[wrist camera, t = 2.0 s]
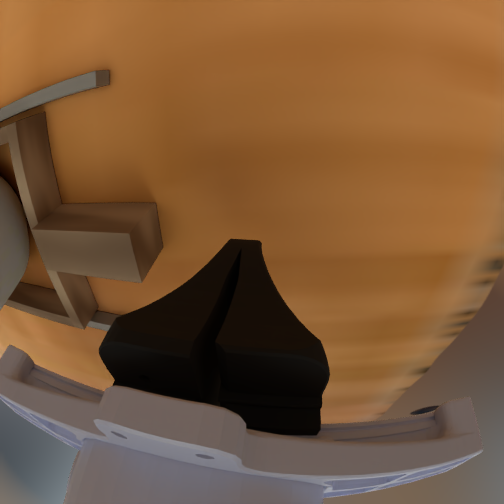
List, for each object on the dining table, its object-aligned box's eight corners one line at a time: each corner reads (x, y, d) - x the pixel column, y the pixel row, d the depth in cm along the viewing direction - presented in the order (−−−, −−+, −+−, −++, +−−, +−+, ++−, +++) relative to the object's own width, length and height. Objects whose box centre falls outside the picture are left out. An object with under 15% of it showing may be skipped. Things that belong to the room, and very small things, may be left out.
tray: (178, 319, 19) (165, 355, 17) (-12, 279, 21) (-27, 297, 18) (144, 87, 11) (108, 92, 8) (-54, 157, 13) (-75, 171, 10)
